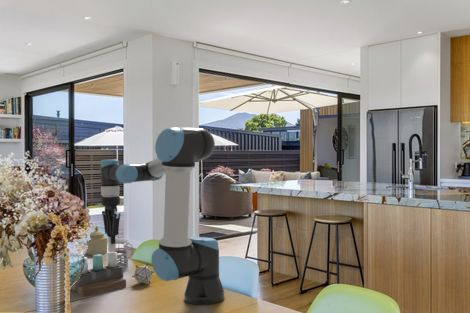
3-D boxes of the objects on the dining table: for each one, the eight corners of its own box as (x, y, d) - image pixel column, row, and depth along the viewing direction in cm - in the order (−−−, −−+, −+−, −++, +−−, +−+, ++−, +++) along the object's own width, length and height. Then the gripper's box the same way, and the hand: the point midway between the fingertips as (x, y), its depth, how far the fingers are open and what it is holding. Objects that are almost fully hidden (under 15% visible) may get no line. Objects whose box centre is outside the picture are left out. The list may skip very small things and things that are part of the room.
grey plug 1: (89, 272, 189) (89, 258, 188) (79, 274, 186) (79, 259, 186) (85, 271, 192) (85, 256, 192) (76, 272, 189) (75, 258, 189)
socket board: (127, 286, 194) (127, 268, 194) (82, 296, 182) (82, 277, 181) (112, 279, 205) (112, 262, 205) (69, 289, 192) (68, 271, 192)
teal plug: (104, 269, 193) (104, 255, 193) (95, 271, 190) (95, 257, 190) (100, 268, 196) (100, 253, 196) (91, 269, 193) (90, 255, 193)
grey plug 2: (119, 266, 197) (118, 252, 197) (110, 268, 194) (109, 254, 194) (114, 265, 200) (114, 251, 200) (106, 266, 198) (105, 252, 197)
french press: (107, 268, 224) (105, 217, 223) (131, 265, 229) (129, 215, 228) (110, 273, 215) (109, 219, 214) (135, 270, 220) (134, 217, 219)
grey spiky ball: (138, 293, 197) (123, 274, 197) (150, 280, 204) (136, 263, 204) (150, 285, 192) (135, 267, 192) (162, 273, 199) (147, 255, 199)
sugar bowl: (79, 252, 261) (78, 225, 261) (97, 248, 269) (96, 223, 269) (93, 256, 251) (92, 228, 250) (111, 252, 259) (110, 225, 258)
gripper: (125, 196, 194) (127, 252, 195) (111, 194, 204) (113, 247, 205) (109, 197, 189) (110, 255, 190) (95, 195, 199) (97, 250, 200)
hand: (112, 251), depth 197 cm, fingers closed
